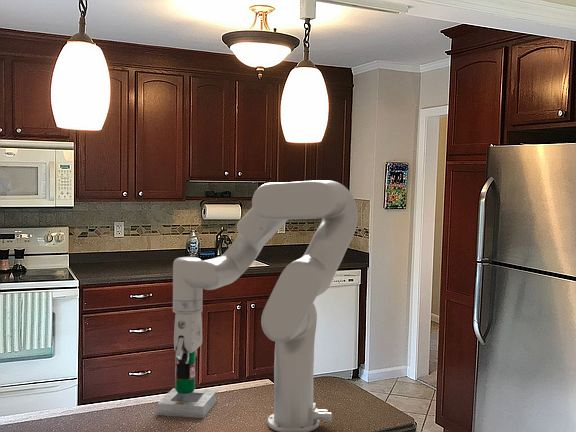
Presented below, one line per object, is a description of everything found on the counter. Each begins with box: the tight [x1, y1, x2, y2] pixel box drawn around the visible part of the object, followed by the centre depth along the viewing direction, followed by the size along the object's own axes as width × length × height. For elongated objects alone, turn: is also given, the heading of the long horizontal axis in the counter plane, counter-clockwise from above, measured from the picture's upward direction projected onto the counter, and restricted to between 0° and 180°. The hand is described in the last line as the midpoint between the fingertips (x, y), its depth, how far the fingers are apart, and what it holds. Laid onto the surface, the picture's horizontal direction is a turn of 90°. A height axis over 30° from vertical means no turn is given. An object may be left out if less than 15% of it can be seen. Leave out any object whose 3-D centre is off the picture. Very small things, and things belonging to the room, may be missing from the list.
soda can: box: [174, 349, 196, 394], centre depth 161 cm, size 5×5×12 cm
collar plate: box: [156, 387, 217, 419], centre depth 162 cm, size 12×12×3 cm
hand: (187, 374), depth 161 cm, fingers closed on soda can, 5 cm apart
